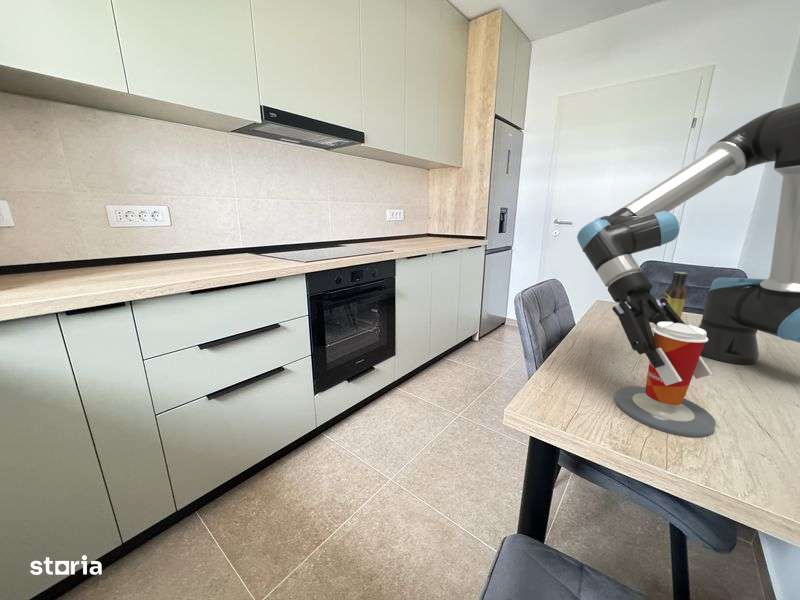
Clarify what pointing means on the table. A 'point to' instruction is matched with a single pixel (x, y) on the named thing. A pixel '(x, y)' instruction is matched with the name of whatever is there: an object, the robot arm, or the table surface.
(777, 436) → the table surface
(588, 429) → the table surface
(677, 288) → the sauce bottle
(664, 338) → the coffee cup
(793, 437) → the table surface
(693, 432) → the saucer
